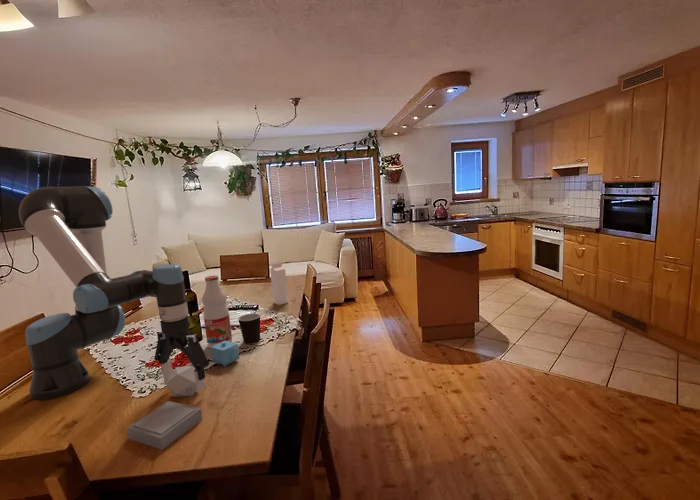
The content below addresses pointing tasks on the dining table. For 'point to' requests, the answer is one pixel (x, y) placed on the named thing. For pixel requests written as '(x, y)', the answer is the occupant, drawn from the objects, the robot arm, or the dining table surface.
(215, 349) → the blue spouted cube
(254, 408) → the dining table surface
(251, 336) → the black cup
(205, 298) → the fruit juice
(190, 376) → the die
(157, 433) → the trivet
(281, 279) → the milk
